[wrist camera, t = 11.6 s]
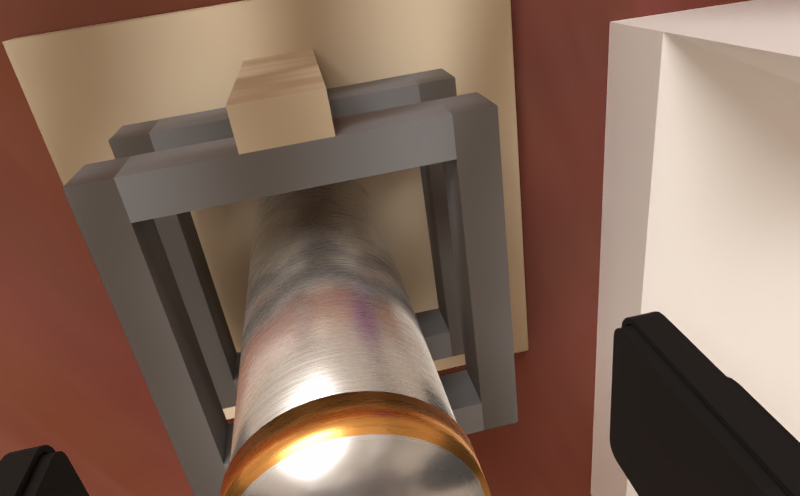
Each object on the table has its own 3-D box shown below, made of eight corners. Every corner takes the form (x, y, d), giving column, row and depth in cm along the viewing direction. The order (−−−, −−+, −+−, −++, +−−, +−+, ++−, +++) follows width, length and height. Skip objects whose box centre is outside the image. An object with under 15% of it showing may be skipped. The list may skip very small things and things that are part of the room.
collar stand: (496, -41, 18) (611, -43, 12) (519, 335, 24) (600, 464, 18) (17, 37, 17) (-142, 83, 10) (173, 414, 23) (133, 582, 17)
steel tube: (368, 153, 19) (483, 403, 8) (388, 268, 21) (503, 591, 10) (235, 179, 18) (173, 477, 8) (268, 293, 20) (255, 659, 10)
